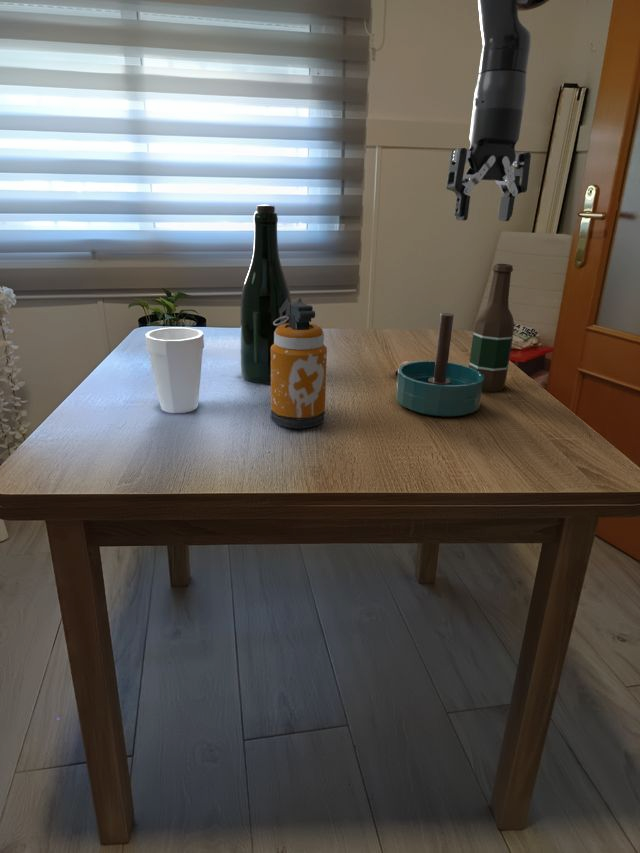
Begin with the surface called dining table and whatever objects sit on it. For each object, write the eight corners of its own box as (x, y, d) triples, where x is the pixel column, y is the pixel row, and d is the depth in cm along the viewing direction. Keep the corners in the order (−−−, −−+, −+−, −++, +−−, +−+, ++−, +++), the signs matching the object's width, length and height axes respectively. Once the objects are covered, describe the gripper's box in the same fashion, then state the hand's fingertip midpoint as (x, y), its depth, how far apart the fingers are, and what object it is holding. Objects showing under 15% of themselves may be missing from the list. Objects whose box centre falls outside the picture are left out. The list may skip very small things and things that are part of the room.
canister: (280, 434, 91) (281, 308, 83) (260, 410, 100) (259, 295, 92) (332, 427, 94) (337, 305, 86) (308, 405, 103) (311, 292, 96)
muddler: (451, 400, 106) (462, 314, 100) (442, 406, 103) (452, 317, 97) (432, 395, 108) (441, 311, 102) (422, 401, 105) (431, 314, 99)
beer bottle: (470, 391, 113) (487, 266, 104) (462, 379, 120) (478, 261, 111) (509, 393, 113) (530, 267, 103) (499, 381, 120) (518, 262, 111)
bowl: (491, 402, 108) (496, 371, 105) (457, 426, 96) (462, 392, 94) (419, 385, 116) (422, 356, 114) (380, 404, 105) (382, 373, 102)
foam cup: (207, 397, 106) (204, 327, 101) (206, 415, 97) (202, 340, 92) (154, 398, 104) (148, 327, 99) (148, 417, 96) (141, 341, 91)
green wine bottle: (302, 376, 119) (305, 205, 106) (269, 388, 111) (268, 206, 98) (264, 366, 125) (263, 203, 112) (230, 377, 117) (224, 203, 104)
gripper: (475, 102, 82) (460, 221, 88) (551, 109, 87) (532, 222, 94) (444, 107, 89) (433, 218, 95) (517, 114, 94) (502, 219, 100)
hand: (482, 220), depth 94 cm, fingers open, 8 cm apart
